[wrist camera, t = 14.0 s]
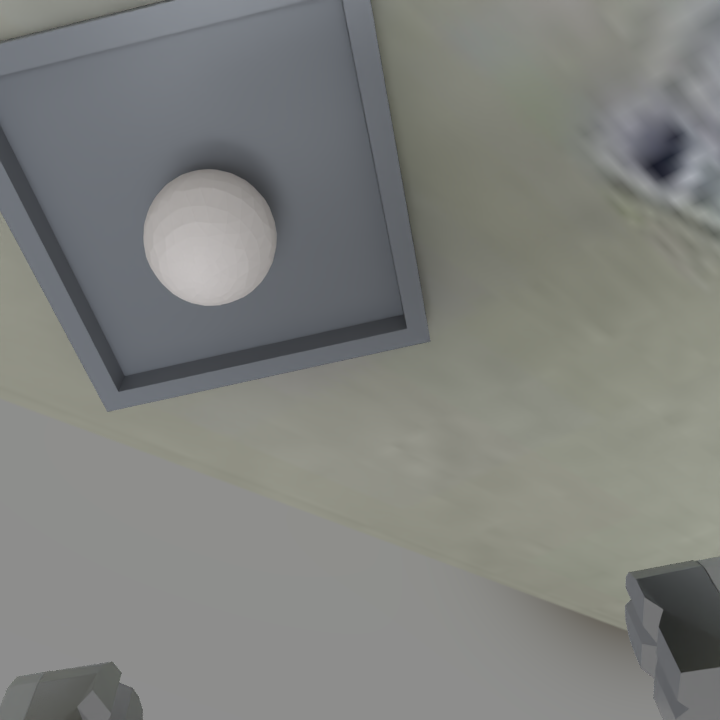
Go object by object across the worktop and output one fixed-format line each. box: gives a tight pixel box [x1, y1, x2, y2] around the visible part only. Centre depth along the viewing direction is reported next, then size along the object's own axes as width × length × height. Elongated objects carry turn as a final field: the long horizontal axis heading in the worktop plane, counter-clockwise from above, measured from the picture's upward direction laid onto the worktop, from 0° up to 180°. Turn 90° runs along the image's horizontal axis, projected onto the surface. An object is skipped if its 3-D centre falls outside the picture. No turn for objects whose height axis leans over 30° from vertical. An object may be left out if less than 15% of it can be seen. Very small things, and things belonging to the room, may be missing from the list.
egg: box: [143, 169, 277, 306], centre depth 32 cm, size 6×6×8 cm
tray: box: [0, 0, 430, 412], centre depth 35 cm, size 20×20×2 cm
